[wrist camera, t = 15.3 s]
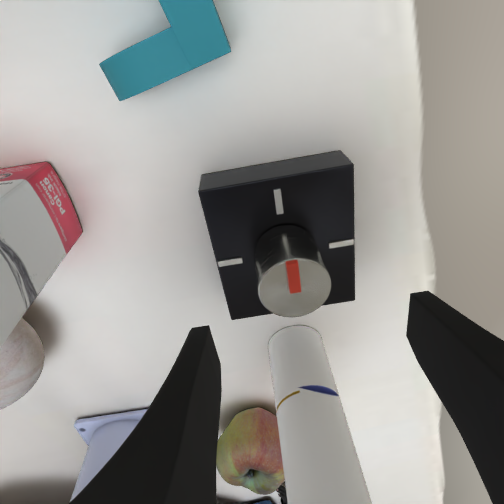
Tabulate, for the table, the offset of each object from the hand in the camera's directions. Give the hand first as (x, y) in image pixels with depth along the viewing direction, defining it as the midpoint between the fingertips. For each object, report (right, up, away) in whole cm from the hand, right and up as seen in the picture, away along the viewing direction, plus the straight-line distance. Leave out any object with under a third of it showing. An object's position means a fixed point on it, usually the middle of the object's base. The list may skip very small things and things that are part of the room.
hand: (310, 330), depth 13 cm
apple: (-2, -12, +20) cm, 23 cm away
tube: (+1, -4, +15) cm, 16 cm away
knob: (0, +3, +8) cm, 8 cm away
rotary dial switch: (0, +4, +10) cm, 11 cm away
